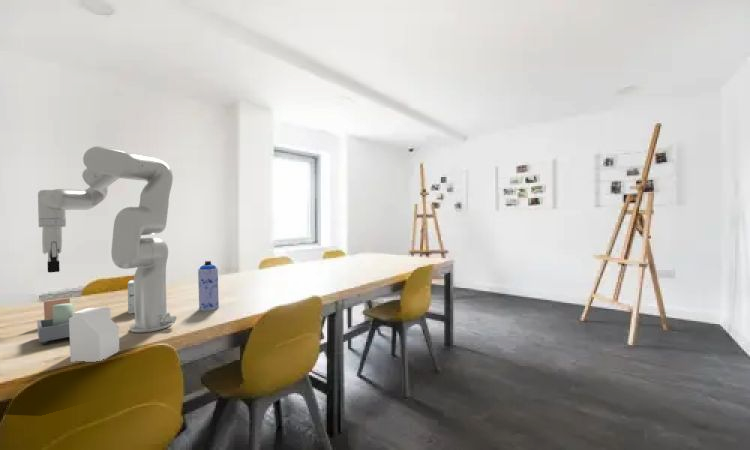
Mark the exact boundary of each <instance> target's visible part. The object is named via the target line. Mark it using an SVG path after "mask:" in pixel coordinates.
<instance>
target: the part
mask: <svg viewBox="0 0 750 450" xmlns="http://www.w3.org/2000/svg"><path fill="white" fill-rule="evenodd" d="M73 313H74V303H73V302H70V303H64V304H57V305H54V306H53V326H54V325H60V324H66V323H69V318H72V317H73Z"/></svg>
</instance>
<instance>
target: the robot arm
mask: <svg viewBox="0 0 750 450" xmlns="http://www.w3.org/2000/svg"><path fill="white" fill-rule="evenodd" d="M82 157H83V158H82V162H83V165H84V166H85V167H86V168H85V169H83V172H82V175H81V176H82V179H83V181H84V183H86V185H88V186H89V187H88V188H86V189H71V188H70V189H69V188H68V189H67V188H66V189H64V188H57V189H40V190H39V191H38V192H37V208H38V209H37V210H38V211H37V212H38V215H37V216H38V217H37V219H38V228H42V229H41V231H42V232H41V234H42V235H41V239H42V241H41V242H42V243H41V244H42V253H43V255H47V272H48V273H50V274H51V273H59V272H60V271H61V270H60V269H61V268H60V261H59V259H60V256H59V254H61V253H62V250H63V249H62V248H63V247H62V245H63V231H62V229H63V228H65V227H67V219H66V213H67V212H66V211H70V210H73V211H75V210H77V211H79V210H80V211H82V210H83V211H84V210H85V211H86V210H90V209H93V208H95V207H97V206H98V205H99V204H101V203H103V201H104V200H105V199H106V197H107V195H108V192H109V191H108V190H109V189H108V188H109V186H111V185H112V184H114V183H115V182H117V180H118V179H124V180H132V181H133V180H135V181H144V182H147V183H146V184H145V185H144V187H143V188H142V190H141V192H140V195H139V197H140V199H139V205H138V206H129V207H128V206H127V207H125V208H122V209H121V210H120V211H118V213H117V214H116V216H115V218H114V223H113V230H112V241H111V259H112V262H113V264H114V265H115V266H116V267H117V268H119V269H123V270H124V269H125V270H128V269H135V268H136V270H135V273H134V277H133V280H134V305H135V313H134V323H133V324H132V325H130V326H129V331H130V332H132V333H151V332H158V331H160V330H164V329H166V328H170V326H172V324H175V323H176V320H177V316H171V315H170V314H171V313H170V312H169V311H167V307H168V306H167V275H166V274H167V262H168V257H169V247H168V245H167V243H166V242H165V241H164V240H162V239H161V238H158V237H142V236H147V235H156V234H157V235H158V234H161V233H163V232H164V231H165V229H166V227H167V219H168V215H169V214H168V212H169V204H170V201H169V199H170V194H171V190H172V186H173V181H174V178H173V177H174V176H173V171H172V170H171V167H170V166H169V165H168V164H167V163H166V162H165V161H163V160H161V159H158V158H155V157H152V156H146V155H140V154H137V153H136V154H135V153H129V152H125V151H123V150H119V149H114V148H109V147H104V146H99V145H98V146H97V145H96V146H92V147H90V148H88V149H87V150H86V151H85V152H84V154H83V156H82Z"/></svg>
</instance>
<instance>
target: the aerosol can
mask: <svg viewBox="0 0 750 450" xmlns="http://www.w3.org/2000/svg"><path fill="white" fill-rule="evenodd" d="M197 271H198V272H197V275H198V276H197V278H198V281H197V282H198V283H197V284H198V311H200V312H209V311H215V310H218V309H219V308H220V305H219V304H220V303H219V272H218V271H219V269H218V267H217V266H216V265H215V264H213V263H212V261H211V260H205V261H204V264H202V265H201V266H200V267H199V268H198V269H197Z"/></svg>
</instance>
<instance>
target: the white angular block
mask: <svg viewBox="0 0 750 450" xmlns="http://www.w3.org/2000/svg"><path fill="white" fill-rule="evenodd" d="M119 327H120V326H119V325H118V324H116V323H115V322H114V320H112V318H111V307H87V308H83V309H80V310H78V311H73V317H72V318H69V332H70V337H69V352H70V353H69V354H70V355H69V356H70V363H76V362H75V361H85V362H84V363H89V362H90V363H92V362H93V363H94V362H95V363H97V362H96V361H101V360H102V361H104V360H106V359H107V358H110V357H111V356H113V355H115V354H117V353H118V351H119V352H120V331H119V330H120V328H119ZM103 359H104V360H103ZM102 361H101V362H102Z"/></svg>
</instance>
